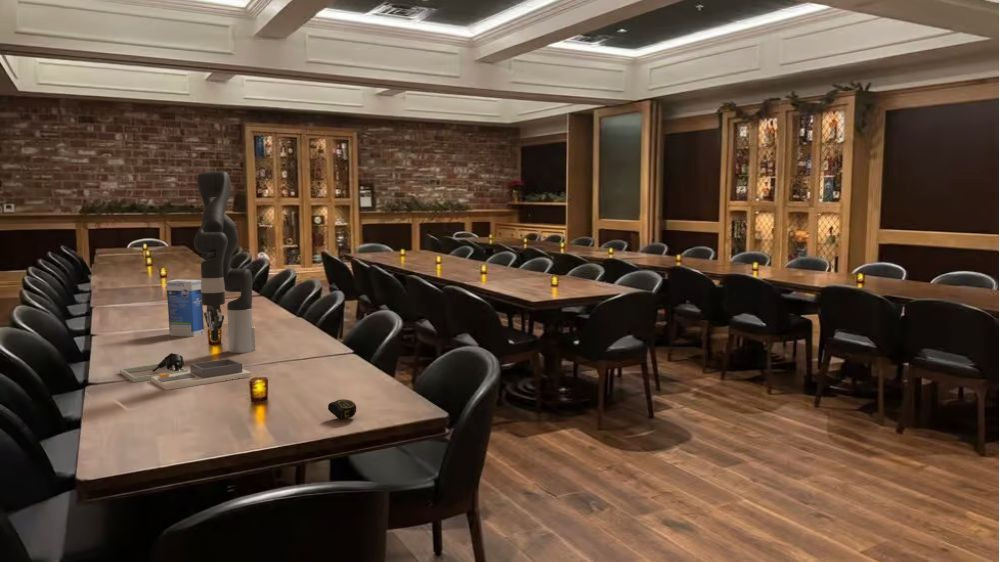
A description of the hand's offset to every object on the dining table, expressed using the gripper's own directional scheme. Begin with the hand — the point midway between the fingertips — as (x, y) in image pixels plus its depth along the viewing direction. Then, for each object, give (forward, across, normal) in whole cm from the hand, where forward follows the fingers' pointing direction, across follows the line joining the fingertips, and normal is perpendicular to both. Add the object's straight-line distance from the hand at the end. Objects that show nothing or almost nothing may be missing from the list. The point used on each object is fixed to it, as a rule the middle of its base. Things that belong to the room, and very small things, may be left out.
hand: (214, 340), depth 252 cm
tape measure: (+13, -71, -6) cm, 72 cm away
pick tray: (+12, +19, +15) cm, 27 cm away
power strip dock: (+13, 0, +5) cm, 14 cm away
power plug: (+14, +20, +15) cm, 29 cm away
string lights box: (+12, +86, -18) cm, 89 cm away
